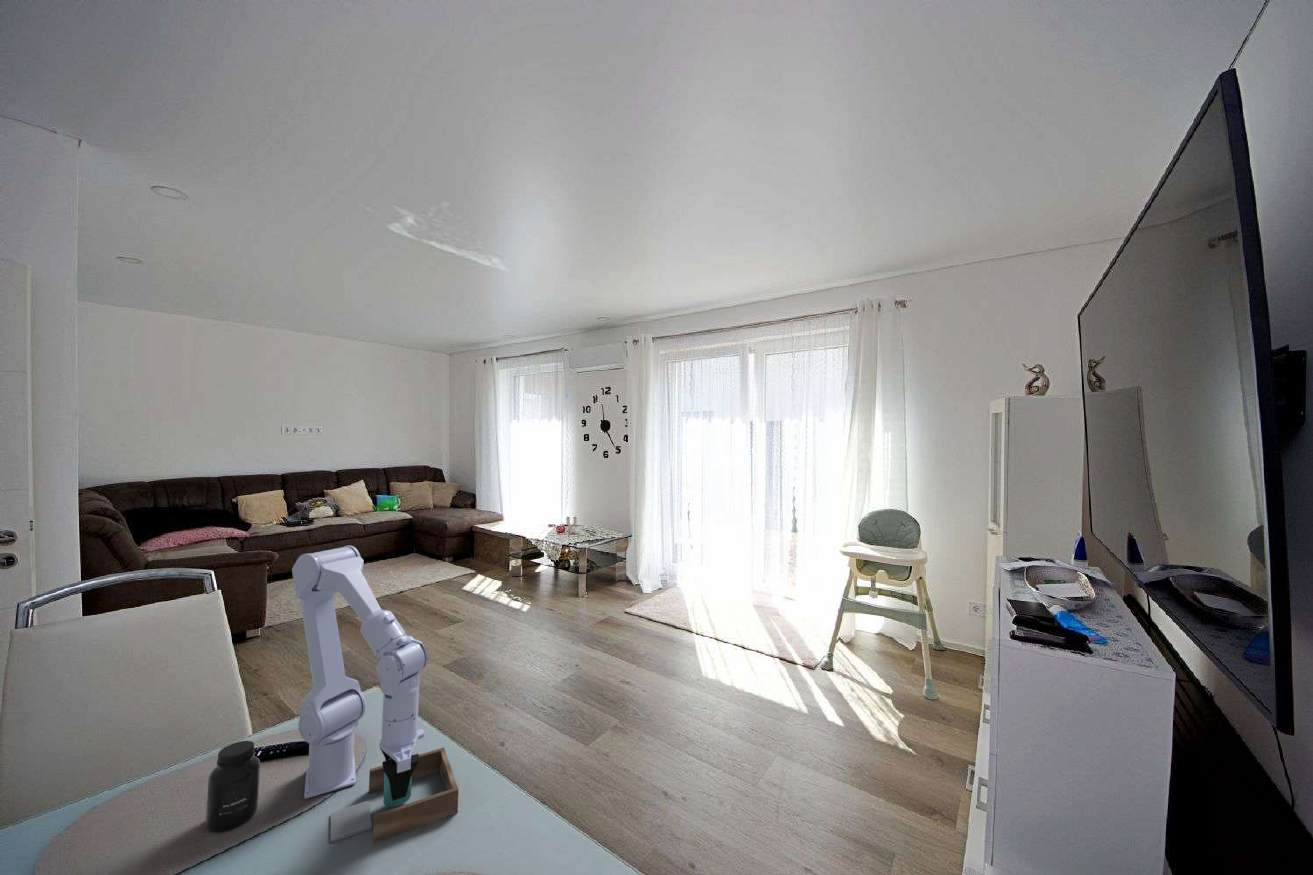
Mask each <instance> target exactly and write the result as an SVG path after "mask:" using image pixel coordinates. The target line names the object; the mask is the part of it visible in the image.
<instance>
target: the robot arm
mask: <svg viewBox="0 0 1313 875" xmlns="http://www.w3.org/2000/svg"><path fill="white" fill-rule="evenodd" d="M364 565H365V564H364V559H363V558H362V557H361V554H360V552H359V550H358V549H357V548H356V547H355V546H353V545H349V544H348V545H344V546H343V547H338V548H332V549H328V550H327V549H326V550H322V551H317V552H313V553H312V552H311V553H308V552H307V553H302V554H301V555H300V556H299V557H298V558H297V559H296V561H295V563H294V564H293V566H292V569H291V573H292V579H293V586H294V592H295V593H294V594H295V597H296V599H297V600H299V602H300V607H301V608H300V609H301V613H302V620H303V628H304V634H305V640H306V647H307V648H306V649H307V653H308V660H309V661H308V662H309V667H310V672H311V673H310V674H311V681H312V687H311V689H310V690H309V692H308V693H307V694H306V695H305V696H304V697H303V699H301V701H300V703H299V706H298V707H299V719H298V724H297V725H298V726H297V727H298V728H297V729H298V732H299V736H301V738H302V739H303V740H304V741H305V742H306V743H308V744H309V746H308V767H307V768H306V772H305V783H304V794H303V795H304V796H303V797H304V799H306V800H307V799H309V798H313V797H316V796H320V795H323V794H326V793H330V792H333V791H337V790H339V789H343V788H346V787H349V786H353V785H355V784H356V783H357V779H356V777H357V776H356V775H357V774H356V763H355V762H356V759H355V755H354V753H355V751H354V749H355V748H354V747H355V728H356V727H358V726H359V720H360V719H362V718H363V716H364V715H365V712H366V709H367V708H366V707H367V705H366V704H367V702H366V698H365V696H364V694H363V692H362V690H361V687H360V683H359V682H360V681H359V680H357V679H354V678H351V677H348V676H346V671H345V665H344V664H345V663H344V659H343V652H342V646H341V640H340V632H339V627H338V626H339V625H338V621H337V615H336V608H335V602H334V597H335V595H336V593H337V592H338V593H339V594H340V595H341V597H342V598H343V599H344V600H345V601H346V603H347V604H348V605H349V607H350V608H351V609H352V610H353V612H354V613H355V614H356V615H357V616H358V617H359V619H360V620H361V625H360V629H359V632H360V634H361V636H362V637H363V639H364V640H365V641H366V643H367V645H368V646H369V648H370V649H371V652H372V653H373V654H374V656H375V657H376V660H378V664H376V666H375V669H376V675H377V677H378V680H379V683H380V687H379V688H380V689H379V690H380V691H381V693H382V694H383V697H382V698H383V699H382V719H381V721H382V723H381V739H380V742H379V750H380V751H381V753H382V754H383V757H384V760H383V761H382V762H381V764H382V765H383V770H384V772H385V774H386V775H387V777H388V779H389V783H390V790H391V796H392V800H393V801H394V800H397V799H400V798H403V797H405V796H406V794H407V791H408V787H409V783H410V779H411V776H412V773H413V771H414V769H415V767H416V766H417V764H418V762H419V755H420V754H419V753H415V754H413V752H414V749H415V747H416V745H417V743H418V740H420V739H423V738H424V737H425V730H424V729H423V728H420V729H418V725H419V723H418V722H419V717H418V716H419V703H420V702H419V701H420V700H419V696H420V672H421V671H422V670H424V669H425V668H426V667H427V664H428V657H429V656H428V652H427V649H426V647H425V645H424V643H423V642H422V641H421V640H419V639H415V638H413V636H411V635H407V632H406V631H405V629H403V628H404V627H402V625H401V624H400V623H399V621H398V619H397V618H396V616H395V615H394V613H393V612H392V611H390V610H387V609H382V608H381V606H380V605H379V602H378V601H377V599H376V597H375V595H374V593H373V591H372V589H371V587H370V585H369V583H368V582H367V580H366V577H365V576H364V574H363V570H364ZM390 758H392V759H390ZM388 759H390V760H388ZM382 765H381V766H382Z"/></svg>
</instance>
